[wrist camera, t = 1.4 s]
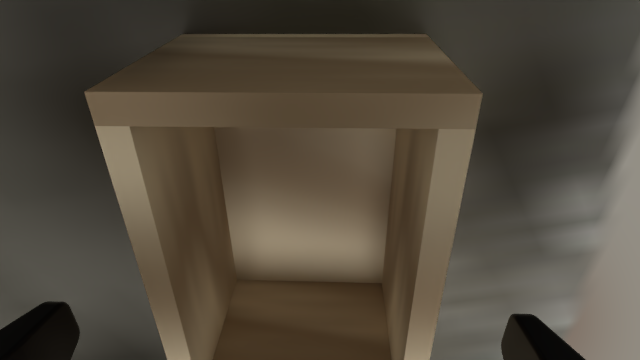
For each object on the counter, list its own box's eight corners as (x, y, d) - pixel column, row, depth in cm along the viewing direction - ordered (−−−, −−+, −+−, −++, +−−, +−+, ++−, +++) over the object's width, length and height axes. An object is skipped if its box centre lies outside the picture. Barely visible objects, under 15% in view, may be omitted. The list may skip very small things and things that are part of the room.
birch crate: (395, 283, 15) (417, 418, 11) (226, 279, 15) (183, 409, 11) (424, 32, 11) (482, 93, 6) (184, 32, 11) (84, 91, 7)
